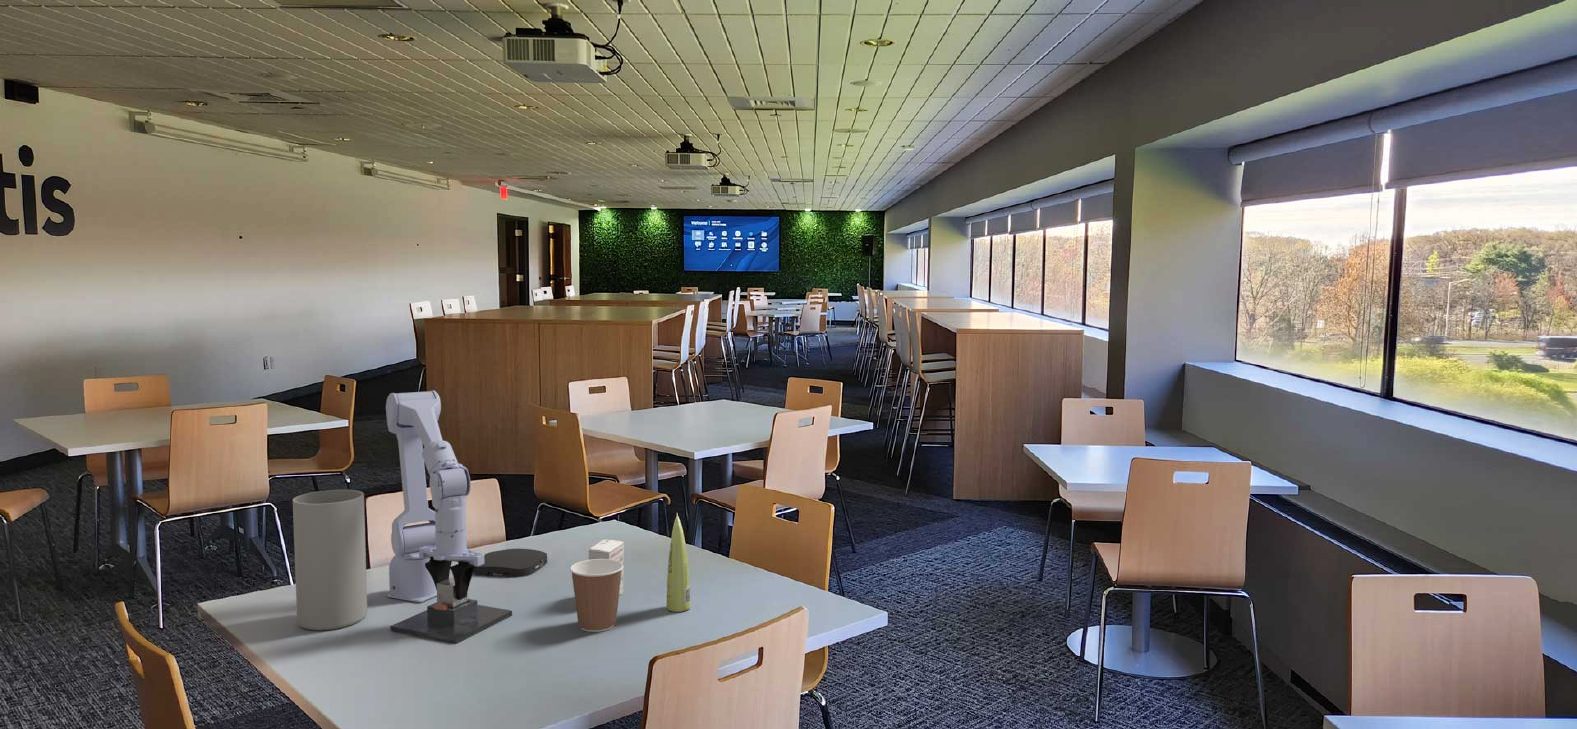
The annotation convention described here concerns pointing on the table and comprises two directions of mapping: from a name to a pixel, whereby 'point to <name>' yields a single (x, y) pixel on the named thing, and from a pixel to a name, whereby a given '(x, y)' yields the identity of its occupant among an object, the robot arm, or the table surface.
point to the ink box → (609, 553)
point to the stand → (451, 621)
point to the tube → (678, 572)
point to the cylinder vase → (330, 559)
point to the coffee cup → (596, 593)
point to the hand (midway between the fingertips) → (452, 596)
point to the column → (449, 594)
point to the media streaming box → (512, 563)
